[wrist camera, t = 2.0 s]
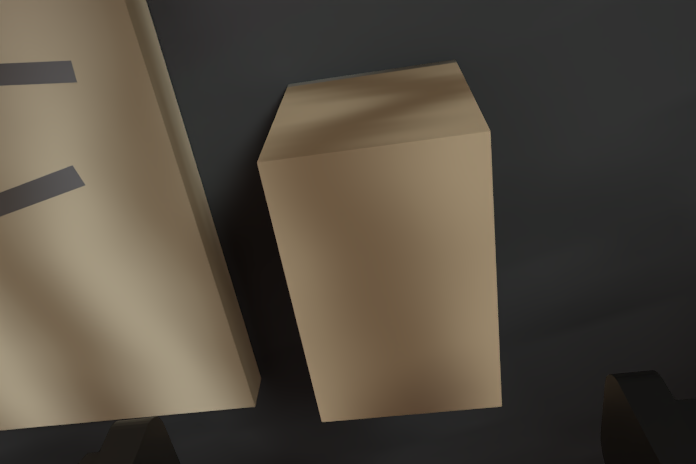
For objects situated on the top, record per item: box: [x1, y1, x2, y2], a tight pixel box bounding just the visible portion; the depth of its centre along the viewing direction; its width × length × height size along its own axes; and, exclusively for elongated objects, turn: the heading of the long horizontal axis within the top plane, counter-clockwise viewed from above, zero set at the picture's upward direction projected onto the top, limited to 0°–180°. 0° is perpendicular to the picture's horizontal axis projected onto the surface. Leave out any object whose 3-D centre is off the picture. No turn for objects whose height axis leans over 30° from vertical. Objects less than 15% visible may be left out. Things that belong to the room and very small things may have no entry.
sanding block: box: [257, 60, 502, 422], centre depth 17 cm, size 5×8×6 cm, turn 9°
